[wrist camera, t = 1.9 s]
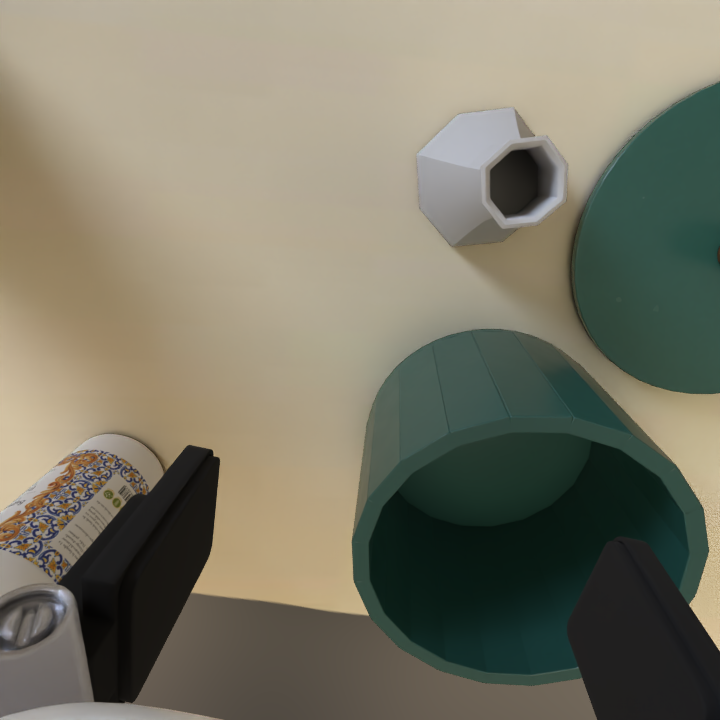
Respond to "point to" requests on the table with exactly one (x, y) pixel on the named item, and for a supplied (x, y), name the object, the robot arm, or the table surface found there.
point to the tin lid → (657, 251)
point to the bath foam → (71, 508)
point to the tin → (505, 505)
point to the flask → (489, 177)
